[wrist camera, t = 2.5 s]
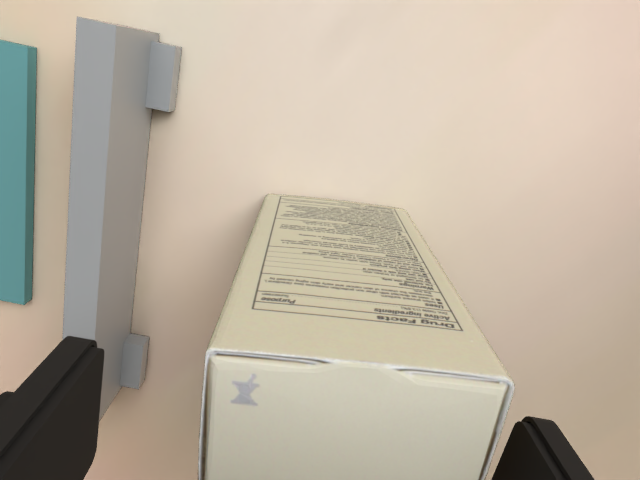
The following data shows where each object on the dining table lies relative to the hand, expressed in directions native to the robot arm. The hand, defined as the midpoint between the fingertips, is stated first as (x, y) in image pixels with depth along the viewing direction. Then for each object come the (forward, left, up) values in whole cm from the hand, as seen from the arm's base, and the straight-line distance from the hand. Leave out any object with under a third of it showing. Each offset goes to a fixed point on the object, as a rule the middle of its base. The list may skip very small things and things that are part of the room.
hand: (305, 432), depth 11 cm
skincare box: (-1, 0, -12) cm, 12 cm away
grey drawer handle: (+8, +1, -11) cm, 14 cm away
